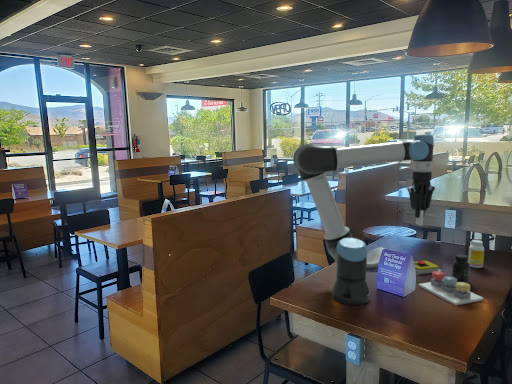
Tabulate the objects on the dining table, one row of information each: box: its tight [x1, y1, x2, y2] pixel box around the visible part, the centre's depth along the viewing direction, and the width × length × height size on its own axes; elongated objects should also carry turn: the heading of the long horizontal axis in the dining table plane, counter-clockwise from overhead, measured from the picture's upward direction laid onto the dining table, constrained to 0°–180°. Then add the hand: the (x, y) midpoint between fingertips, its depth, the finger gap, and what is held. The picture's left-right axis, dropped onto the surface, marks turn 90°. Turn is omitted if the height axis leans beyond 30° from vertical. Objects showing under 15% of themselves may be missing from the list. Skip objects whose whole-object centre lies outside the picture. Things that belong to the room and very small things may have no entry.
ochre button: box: [456, 282, 471, 294], centre depth 153 cm, size 5×5×4 cm
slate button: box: [443, 275, 457, 287], centre depth 159 cm, size 5×5×4 cm
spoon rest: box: [366, 246, 385, 269], centre depth 196 cm, size 24×12×7 cm, turn 131°
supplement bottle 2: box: [467, 239, 485, 269], centre depth 190 cm, size 7×7×13 cm
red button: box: [431, 271, 446, 282], centre depth 165 cm, size 5×5×4 cm
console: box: [418, 278, 484, 306], centre depth 159 cm, size 14×20×3 cm
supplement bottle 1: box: [451, 253, 471, 284], centre depth 170 cm, size 7×7×12 cm
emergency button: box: [413, 260, 443, 276], centre depth 186 cm, size 9×4×15 cm
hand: (419, 224), depth 167 cm, fingers closed
